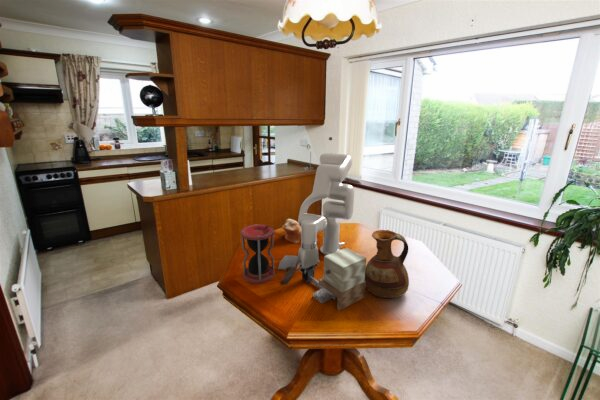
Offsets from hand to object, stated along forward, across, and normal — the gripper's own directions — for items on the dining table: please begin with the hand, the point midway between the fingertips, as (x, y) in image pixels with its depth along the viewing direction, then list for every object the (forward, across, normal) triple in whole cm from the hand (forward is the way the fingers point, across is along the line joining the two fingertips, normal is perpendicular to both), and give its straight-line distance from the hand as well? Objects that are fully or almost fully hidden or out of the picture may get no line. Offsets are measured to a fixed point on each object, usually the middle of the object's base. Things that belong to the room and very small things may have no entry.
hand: (308, 277), depth 145 cm
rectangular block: (+2, +4, +15) cm, 15 cm away
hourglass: (+2, +17, -19) cm, 26 cm away
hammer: (+1, 0, +9) cm, 9 cm away
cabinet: (+2, -4, +19) cm, 20 cm away
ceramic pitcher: (+2, -24, +28) cm, 37 cm away
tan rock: (+2, -27, -44) cm, 51 cm away
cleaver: (+2, +2, -16) cm, 16 cm away
